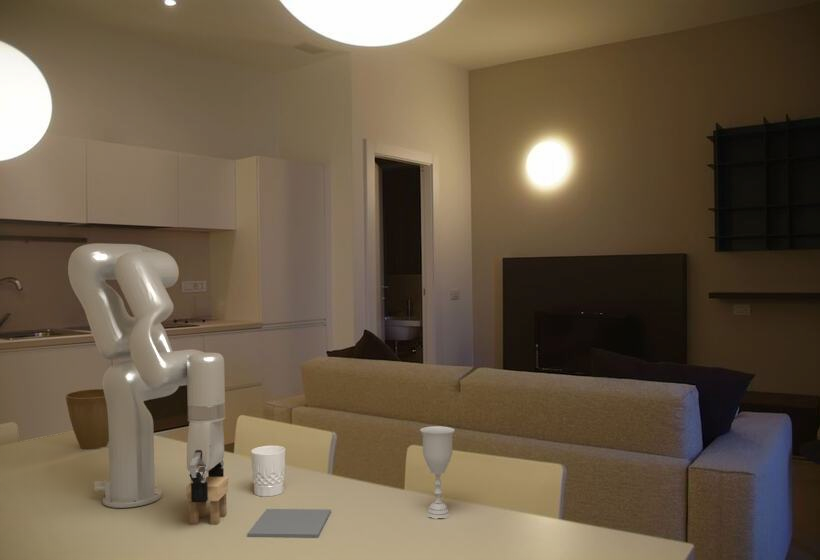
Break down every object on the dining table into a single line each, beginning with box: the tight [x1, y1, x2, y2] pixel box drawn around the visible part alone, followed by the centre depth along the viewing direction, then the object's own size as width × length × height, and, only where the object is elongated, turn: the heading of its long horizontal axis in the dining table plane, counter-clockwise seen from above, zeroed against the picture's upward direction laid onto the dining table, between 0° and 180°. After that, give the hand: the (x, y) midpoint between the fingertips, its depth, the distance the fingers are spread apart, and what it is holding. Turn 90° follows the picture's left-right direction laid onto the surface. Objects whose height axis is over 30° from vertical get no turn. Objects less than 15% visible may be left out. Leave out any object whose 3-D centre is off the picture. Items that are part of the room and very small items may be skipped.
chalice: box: [420, 425, 455, 518], centre depth 147 cm, size 7×7×18 cm
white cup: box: [250, 445, 286, 497], centre depth 164 cm, size 8×8×10 cm
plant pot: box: [65, 388, 109, 450], centre depth 209 cm, size 15×15×16 cm
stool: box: [186, 476, 229, 526], centre depth 146 cm, size 6×6×8 cm
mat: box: [246, 508, 332, 538], centre depth 143 cm, size 14×14×1 cm
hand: (208, 493), depth 146 cm, fingers open, 9 cm apart
